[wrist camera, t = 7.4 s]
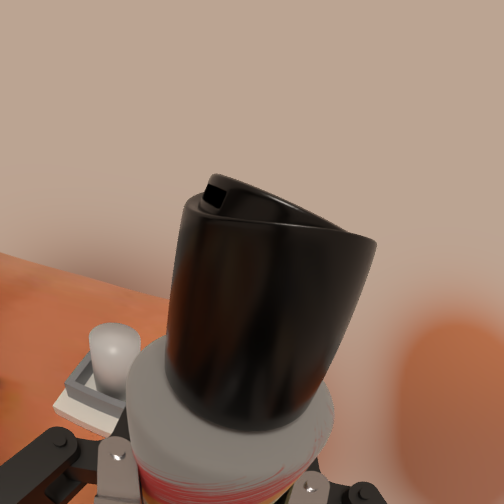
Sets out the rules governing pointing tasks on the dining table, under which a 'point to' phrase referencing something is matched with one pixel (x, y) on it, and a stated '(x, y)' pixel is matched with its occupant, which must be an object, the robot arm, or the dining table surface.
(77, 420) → the tray
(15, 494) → the robot arm
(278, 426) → the lotion bottle
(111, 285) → the dining table surface
